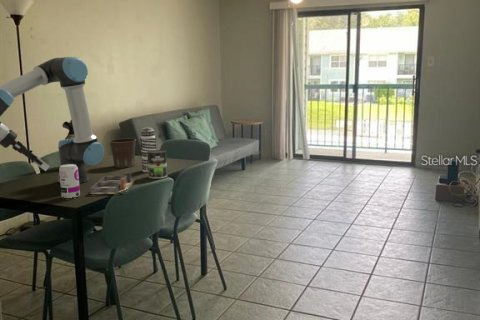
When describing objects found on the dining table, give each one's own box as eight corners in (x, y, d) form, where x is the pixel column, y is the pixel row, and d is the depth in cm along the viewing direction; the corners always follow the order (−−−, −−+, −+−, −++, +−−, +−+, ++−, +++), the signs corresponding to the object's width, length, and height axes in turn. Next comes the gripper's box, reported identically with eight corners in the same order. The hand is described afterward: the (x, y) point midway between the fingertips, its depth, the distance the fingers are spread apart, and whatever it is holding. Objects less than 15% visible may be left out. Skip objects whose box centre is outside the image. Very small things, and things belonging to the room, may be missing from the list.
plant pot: (131, 169, 283) (130, 142, 280) (106, 168, 285) (104, 142, 282) (141, 163, 298) (140, 138, 296) (117, 163, 301) (115, 138, 298)
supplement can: (82, 194, 225) (79, 163, 222) (77, 199, 217) (74, 167, 214) (65, 195, 225) (62, 164, 222) (59, 199, 217) (56, 167, 214)
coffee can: (168, 177, 257) (167, 152, 254) (149, 179, 254) (147, 153, 251) (166, 174, 266) (165, 149, 264) (147, 175, 264) (146, 150, 261)
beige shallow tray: (89, 195, 224) (88, 182, 222) (104, 182, 250) (103, 170, 249) (124, 194, 224) (123, 181, 223) (134, 181, 251) (133, 169, 249)
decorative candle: (146, 173, 270) (143, 129, 266) (139, 170, 278) (136, 127, 273) (160, 170, 276) (158, 127, 271) (153, 168, 283) (151, 126, 278)
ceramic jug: (74, 170, 283) (69, 120, 278) (55, 168, 290) (50, 119, 284) (94, 164, 298) (90, 117, 293) (75, 163, 305) (71, 116, 299)
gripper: (-6, 139, 212) (34, 168, 222) (0, 146, 191) (44, 177, 201) (6, 126, 213) (45, 155, 224) (13, 131, 193) (56, 163, 203)
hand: (44, 166), depth 213 cm, fingers open, 13 cm apart
